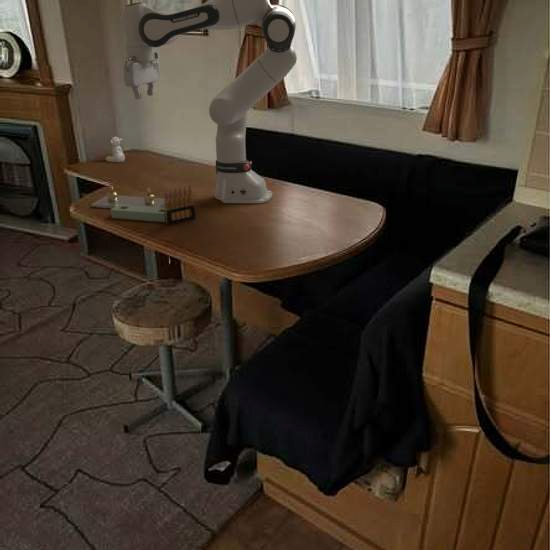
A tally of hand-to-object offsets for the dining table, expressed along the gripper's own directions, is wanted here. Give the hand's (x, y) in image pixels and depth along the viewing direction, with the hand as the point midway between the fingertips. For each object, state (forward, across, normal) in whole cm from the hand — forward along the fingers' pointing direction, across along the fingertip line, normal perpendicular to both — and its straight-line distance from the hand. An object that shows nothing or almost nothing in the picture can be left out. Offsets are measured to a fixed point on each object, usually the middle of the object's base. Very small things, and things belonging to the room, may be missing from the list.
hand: (144, 97), depth 192 cm
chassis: (+38, -9, +6) cm, 39 cm away
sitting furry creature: (+38, +52, +44) cm, 78 cm away
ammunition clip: (+38, -22, -20) cm, 48 cm away
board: (+38, -21, -6) cm, 43 cm away
